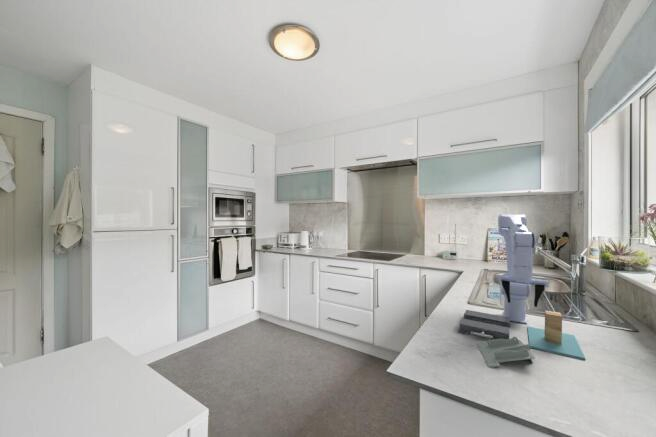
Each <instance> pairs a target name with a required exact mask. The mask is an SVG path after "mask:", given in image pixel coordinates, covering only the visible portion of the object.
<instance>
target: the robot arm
mask: <svg viewBox="0 0 656 437" xmlns="http://www.w3.org/2000/svg"><path fill="white" fill-rule="evenodd" d="M527 223H528V220H527V216H526V215H525V214H523V213H522V214H502V213H501V214H499V215H498V218H497V228H498V233H499V234H498V235H500V236H501V237H503V239H504V243H505V253H506V254H505V256H506V270H507V271H506V272H505V273H503V274H502V275H500V274H499V275H498V277H497V281H498V282H499V291H500V294H501V295H503V296H504V298H503V312H502V316H504V317H509V318H510V322H516V323H521V324H528V318H527V314H526V311H527V309H526V308H527V307H526V306H527V304H526V302H527V300H528V298H530V297H531V294H532V286H534V300H533V304H534V305H533V306H534V307H535V308H537V307H538V302H540V298H541V296H542V294H543V293H544V291H545V288H549V286H550V282H549V280H547V279H546V280H545V279H539V278H535V277H534V278H533V254H534V253H533V250H534V248H535V247H536V235H535V233H534V232H533V231H529V229H528V227H527Z"/></svg>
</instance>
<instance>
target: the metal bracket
mask: <svg viewBox="0 0 656 437" xmlns="http://www.w3.org/2000/svg"><path fill="white" fill-rule="evenodd" d="M475 345H476V346H477V348H478V349H479V351H480V353H481V355H482V357H483V359H484V363H485V365H486V366H487V368H497V367H498V368H499V367H501V364H500V363H506V362H513V361H523V360H529V362H530V363H531V364H534V361H533V360H534V359H536V356H535V355H534V354H533V353H532V351H531V348H530V345H529V343H527V344H524V342H523V341H522V340H521V339H518V338H517V337H516V336H513V337H511V338H509V340H508V339H488V340H487V341H486V340H482V341H476V342H475Z"/></svg>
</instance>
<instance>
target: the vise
mask: <svg viewBox="0 0 656 437" xmlns="http://www.w3.org/2000/svg"><path fill="white" fill-rule="evenodd" d="M458 325H459V327H458V334H464V335H465V334H470V335H473V336H475V337H476V336H477V337H482V338H485V339H489V340H495V339H508V340H509V339H510V332H511V331H510V330H511V329H510V327H511V326H510V325H511V321H510V318H509V317H504V316H503V315H497V314H491V313H486V312H481V311H475V310H470V309H469V310H468V309H465V311H464V313H463V318H461V319H460V321H459V323H458Z"/></svg>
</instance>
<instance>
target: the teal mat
mask: <svg viewBox="0 0 656 437" xmlns="http://www.w3.org/2000/svg"><path fill="white" fill-rule="evenodd" d="M527 335H528V342H529V343H528V344H529V345H530V349H533V350H539V351H544V352H547V353H551V354H557V355H560V356H564V357H570V358H575V359H578V360H581V361H582V360H584V361H586V357H585V355H584V352H583V350H582V348H581V347H580V345H579V343H578V340H577V339H576V338H577V337H576V336H575V335H574V334H571V333H565V332H562V344H557V343H552V342H548V341H546V340H545V328H544V329H543V328H538V327H532V326H527Z"/></svg>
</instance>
